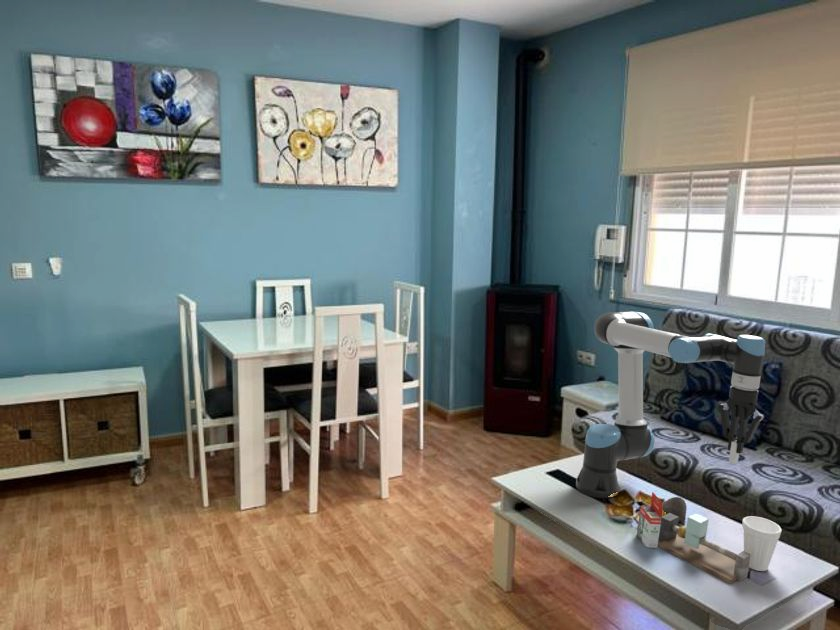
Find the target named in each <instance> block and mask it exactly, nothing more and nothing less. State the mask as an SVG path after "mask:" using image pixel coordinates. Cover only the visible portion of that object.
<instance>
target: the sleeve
mask: <svg viewBox="0 0 840 630" xmlns="http://www.w3.org/2000/svg"><path fill="white" fill-rule="evenodd" d="M709 520H710V519H709V518H707V517H705V516H702V515H700V514H698V513H696V512H695V513H694V514H691V515H689V516H688V517H687V520H686V526H685V527H686V534H685V541H684V543H686V544H688V545H690V546H692V547H694V548H696V549H698V548H699V544H700V543H699V541H700V538H704V539H706V540H707V531H708V526H709ZM701 545H702V544H701ZM703 546H704V545H703Z"/></svg>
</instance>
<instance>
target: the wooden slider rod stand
mask: <svg viewBox="0 0 840 630" xmlns="http://www.w3.org/2000/svg"><path fill="white" fill-rule="evenodd" d="M678 520H679V517H678V516H676V515H674V514H671V513H668V514H666V515H664V516H662V517H661V525H660V532H659V539H658V546H657V548H660V549H662V550H664V551H665V552H668V553H670V554H671V555H673V556H675V557H677V558H679V559H681V560H683V561H686V562H687V563H689V564H691V565H692V566H695V567H697V568H699V569H701V570H703V571H705V572H707V573H708V574H710V575H712V576H714V577H716V578H718V579H720V580H722V581H724V582H726V583H728V584H733V582H735V581H738V582H742V581H743V580H745V579H746V578H747V577H748V573H750V569H751V568H750V567H749V562H750V556H751V554H749V553H747V552H745V551H744V550H743V551H742V550H741V552H739V553H736V552H733V551H731V550H728V549H727V548H724V547H722V546H720V545H718V544H716V543H714V542H712V541H710V540H708V539H707V538H706V539H704V538H700V541H699V543H700V544H699V548H698V549H696V548H694V547H692V546H690V545H688V544H686V543H684V541H685V534H686V527H687V526H684V525H680V526H678V525H679V521H678ZM701 544H702V545H701ZM703 545H704V546H703Z"/></svg>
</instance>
